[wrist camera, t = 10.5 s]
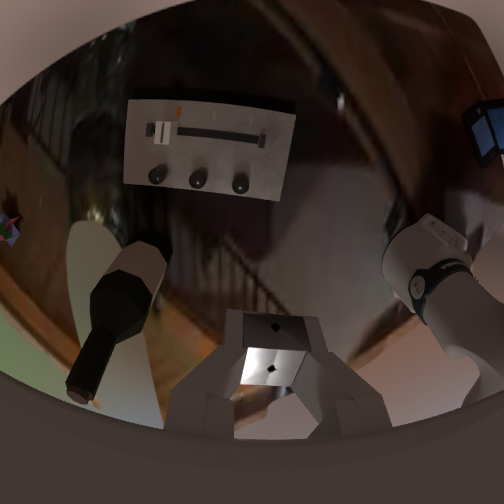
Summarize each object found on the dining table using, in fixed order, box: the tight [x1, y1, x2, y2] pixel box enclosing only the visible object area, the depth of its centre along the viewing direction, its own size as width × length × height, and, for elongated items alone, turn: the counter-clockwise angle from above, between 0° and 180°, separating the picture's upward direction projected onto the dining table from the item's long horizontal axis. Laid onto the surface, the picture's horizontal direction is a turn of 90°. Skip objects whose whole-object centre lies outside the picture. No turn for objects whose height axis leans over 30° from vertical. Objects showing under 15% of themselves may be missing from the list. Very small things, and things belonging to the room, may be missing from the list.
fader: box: [154, 120, 179, 145], centre depth 33 cm, size 2×3×4 cm, turn 171°
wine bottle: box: [65, 230, 173, 404], centre depth 33 cm, size 8×8×30 cm
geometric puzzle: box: [0, 211, 21, 248], centre depth 39 cm, size 7×7×8 cm
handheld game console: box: [463, 98, 504, 168], centre depth 31 cm, size 12×11×7 cm
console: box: [124, 100, 296, 201], centre depth 36 cm, size 24×13×4 cm, turn 81°
